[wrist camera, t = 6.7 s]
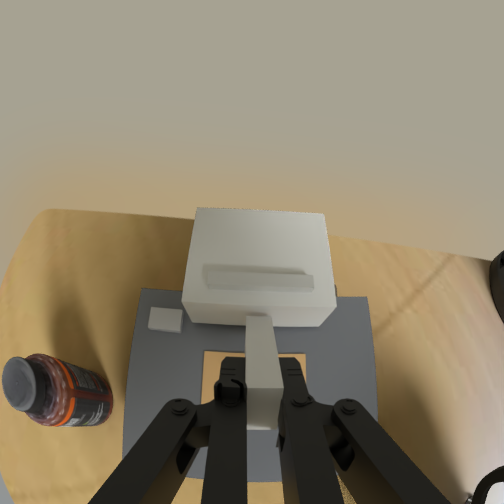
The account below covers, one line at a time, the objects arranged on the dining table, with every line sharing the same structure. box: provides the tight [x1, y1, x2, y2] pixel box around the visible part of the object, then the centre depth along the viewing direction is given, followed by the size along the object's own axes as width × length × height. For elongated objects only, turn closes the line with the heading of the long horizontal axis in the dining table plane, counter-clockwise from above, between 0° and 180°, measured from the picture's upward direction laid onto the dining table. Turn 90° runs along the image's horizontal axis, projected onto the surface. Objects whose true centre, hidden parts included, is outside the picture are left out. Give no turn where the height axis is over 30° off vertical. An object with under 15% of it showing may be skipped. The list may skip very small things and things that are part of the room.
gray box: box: [122, 284, 378, 482], centre depth 20 cm, size 18×16×8 cm
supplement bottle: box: [2, 354, 113, 427], centre depth 16 cm, size 6×6×11 cm
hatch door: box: [181, 208, 337, 327], centre depth 18 cm, size 9×7×5 cm
